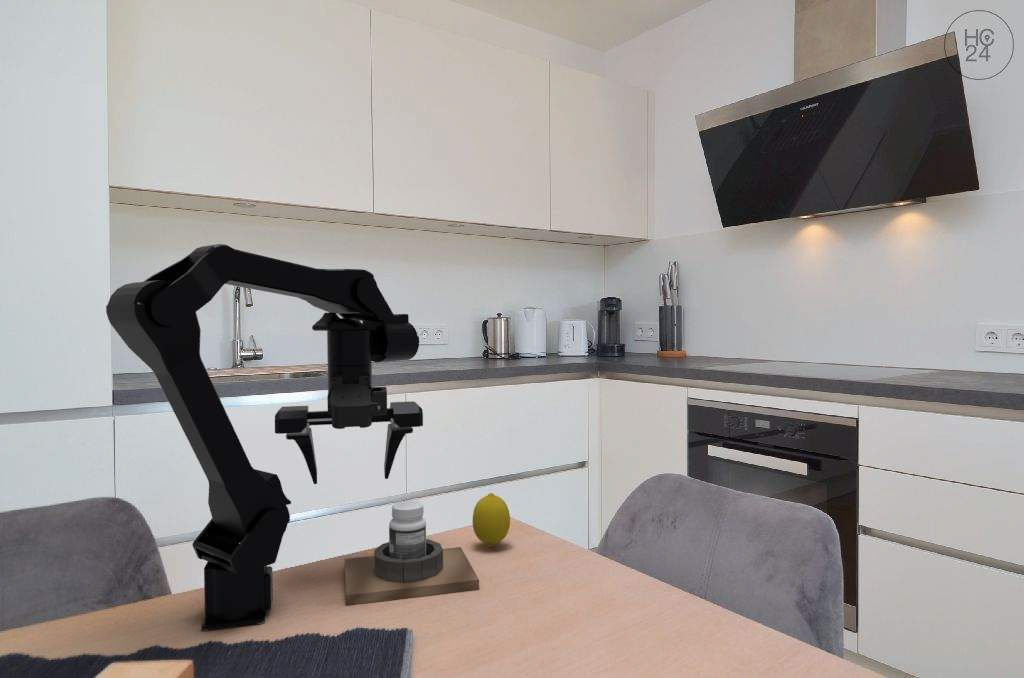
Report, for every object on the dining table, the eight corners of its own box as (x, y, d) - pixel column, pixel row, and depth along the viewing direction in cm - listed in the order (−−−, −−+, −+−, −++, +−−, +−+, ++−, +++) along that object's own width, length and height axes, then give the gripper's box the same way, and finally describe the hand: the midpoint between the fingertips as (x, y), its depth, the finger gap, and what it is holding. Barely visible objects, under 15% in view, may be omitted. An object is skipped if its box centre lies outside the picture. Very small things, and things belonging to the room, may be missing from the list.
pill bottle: (392, 562, 85) (392, 499, 85) (428, 561, 85) (427, 499, 85) (386, 576, 80) (385, 510, 80) (424, 575, 81) (423, 510, 80)
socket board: (346, 605, 75) (345, 574, 75) (344, 567, 87) (344, 540, 86) (479, 589, 79) (478, 559, 79) (460, 555, 91) (460, 529, 91)
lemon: (509, 553, 91) (509, 498, 91) (471, 553, 91) (470, 498, 91) (510, 540, 97) (510, 488, 97) (474, 540, 97) (473, 488, 97)
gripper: (269, 371, 75) (271, 503, 75) (428, 367, 80) (429, 490, 80) (277, 364, 86) (279, 480, 86) (417, 361, 91) (418, 470, 91)
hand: (351, 480), depth 86 cm, fingers open, 9 cm apart
